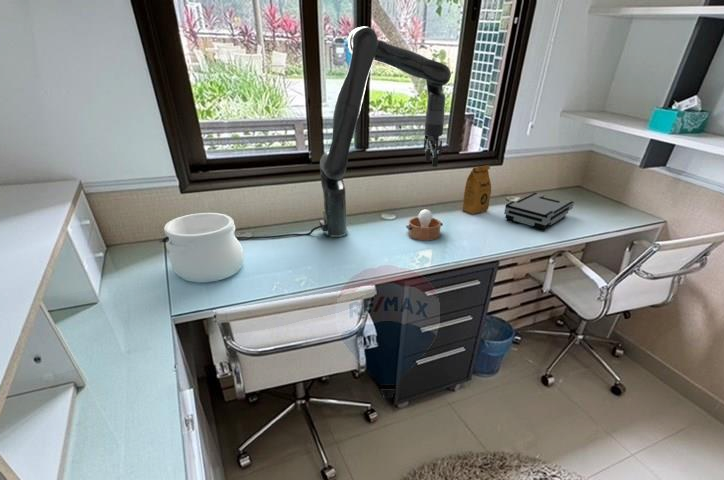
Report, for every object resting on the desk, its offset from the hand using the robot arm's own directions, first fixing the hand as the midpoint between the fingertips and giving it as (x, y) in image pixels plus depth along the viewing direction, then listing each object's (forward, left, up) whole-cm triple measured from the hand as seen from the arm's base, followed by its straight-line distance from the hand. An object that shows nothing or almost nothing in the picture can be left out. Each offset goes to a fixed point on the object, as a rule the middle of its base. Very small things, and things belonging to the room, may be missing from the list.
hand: (430, 164), depth 174 cm
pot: (-96, -15, -27) cm, 101 cm away
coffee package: (+32, +8, -27) cm, 43 cm away
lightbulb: (-6, -11, -27) cm, 30 cm away
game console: (+56, -11, -27) cm, 63 cm away
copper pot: (-6, -11, -27) cm, 30 cm away
